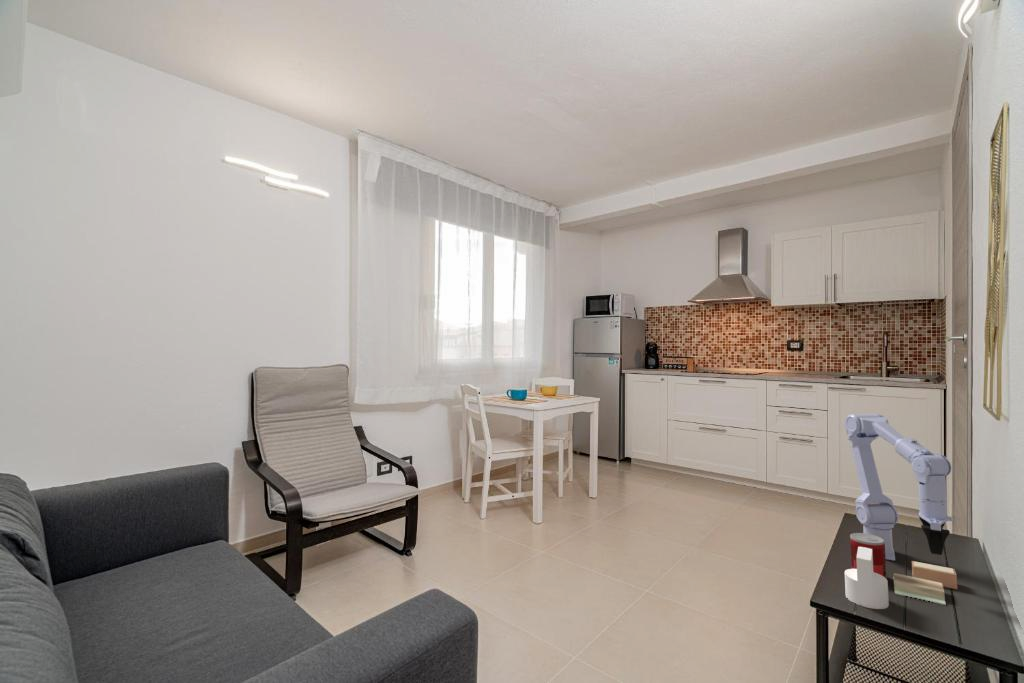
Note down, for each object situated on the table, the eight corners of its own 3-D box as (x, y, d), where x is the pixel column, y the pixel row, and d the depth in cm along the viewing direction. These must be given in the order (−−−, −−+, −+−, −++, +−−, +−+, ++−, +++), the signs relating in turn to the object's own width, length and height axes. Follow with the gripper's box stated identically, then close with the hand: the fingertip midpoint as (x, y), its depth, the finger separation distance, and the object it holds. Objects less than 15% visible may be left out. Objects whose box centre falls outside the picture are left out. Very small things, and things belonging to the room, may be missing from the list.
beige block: (894, 580, 131) (893, 572, 131) (942, 590, 125) (941, 582, 125) (894, 588, 126) (894, 581, 126) (944, 599, 120) (944, 591, 120)
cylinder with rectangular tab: (846, 587, 128) (844, 543, 129) (888, 597, 122) (886, 551, 123) (844, 601, 121) (842, 554, 122) (888, 613, 116) (886, 563, 116)
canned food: (892, 583, 130) (890, 543, 130) (860, 581, 131) (858, 542, 132) (877, 571, 137) (875, 533, 138) (846, 569, 139) (844, 532, 139)
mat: (893, 577, 133) (893, 576, 133) (940, 587, 127) (940, 586, 127) (894, 594, 124) (894, 592, 124) (945, 605, 118) (945, 604, 118)
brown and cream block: (912, 574, 135) (911, 560, 135) (954, 583, 129) (954, 568, 129) (913, 580, 131) (912, 566, 131) (957, 589, 126) (956, 574, 126)
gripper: (955, 508, 120) (958, 562, 120) (949, 494, 132) (951, 543, 131) (919, 503, 125) (922, 555, 124) (916, 490, 136) (918, 537, 136)
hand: (934, 548), depth 128 cm, fingers open, 7 cm apart
